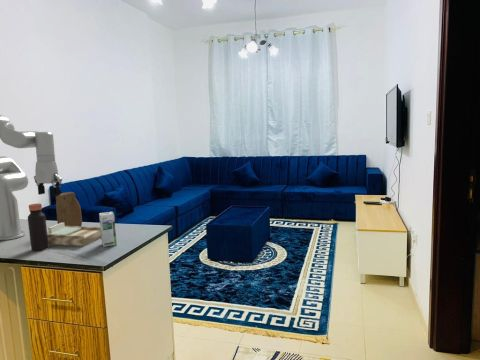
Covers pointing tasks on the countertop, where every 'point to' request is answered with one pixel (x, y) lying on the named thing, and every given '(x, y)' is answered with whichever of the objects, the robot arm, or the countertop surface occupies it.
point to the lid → (62, 229)
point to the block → (68, 209)
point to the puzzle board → (76, 237)
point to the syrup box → (107, 229)
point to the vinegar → (37, 228)
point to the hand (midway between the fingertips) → (49, 194)
